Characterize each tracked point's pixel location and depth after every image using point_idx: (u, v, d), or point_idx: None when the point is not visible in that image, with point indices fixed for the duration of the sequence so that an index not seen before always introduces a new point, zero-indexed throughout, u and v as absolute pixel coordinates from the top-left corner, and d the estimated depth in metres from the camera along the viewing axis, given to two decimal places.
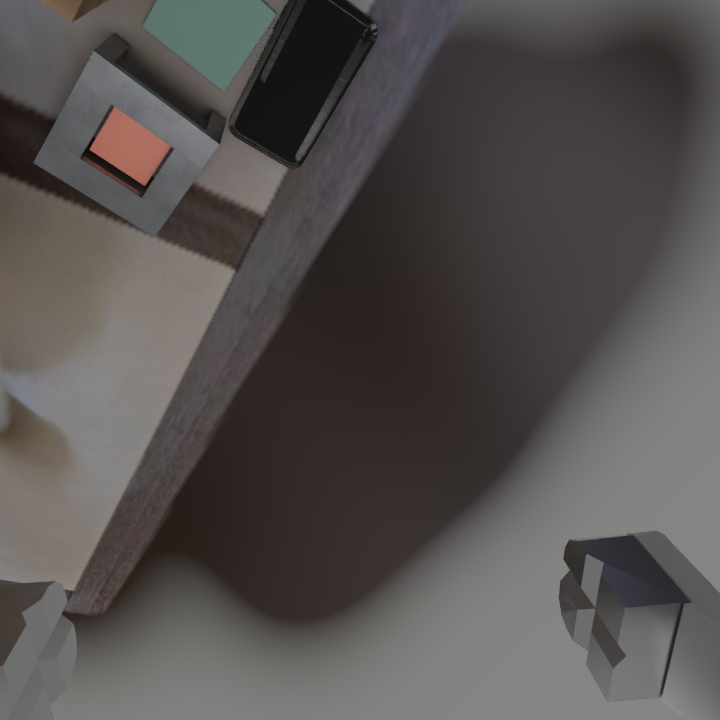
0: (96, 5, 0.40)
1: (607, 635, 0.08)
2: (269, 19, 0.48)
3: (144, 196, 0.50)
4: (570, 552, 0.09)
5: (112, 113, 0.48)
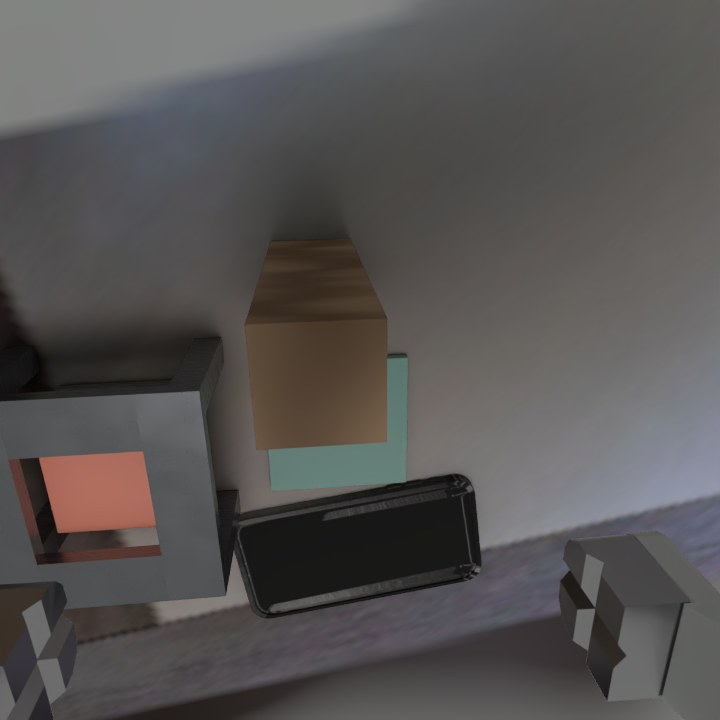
0: None
1: (607, 635, 0.08)
2: (394, 479, 0.34)
3: (44, 566, 0.26)
4: (570, 552, 0.09)
5: None
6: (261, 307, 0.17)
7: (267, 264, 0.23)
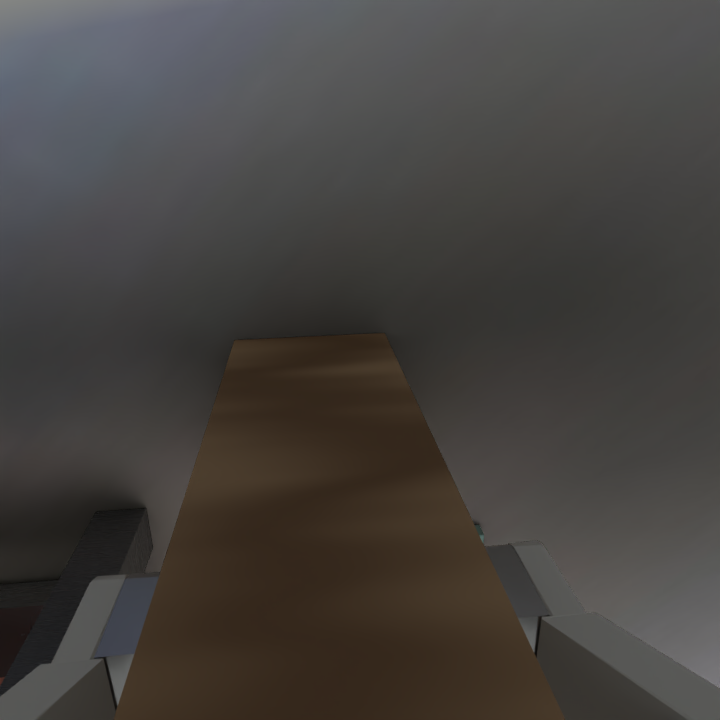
0: None
1: None
2: None
3: None
4: None
5: None
6: None
7: (208, 450, 0.10)
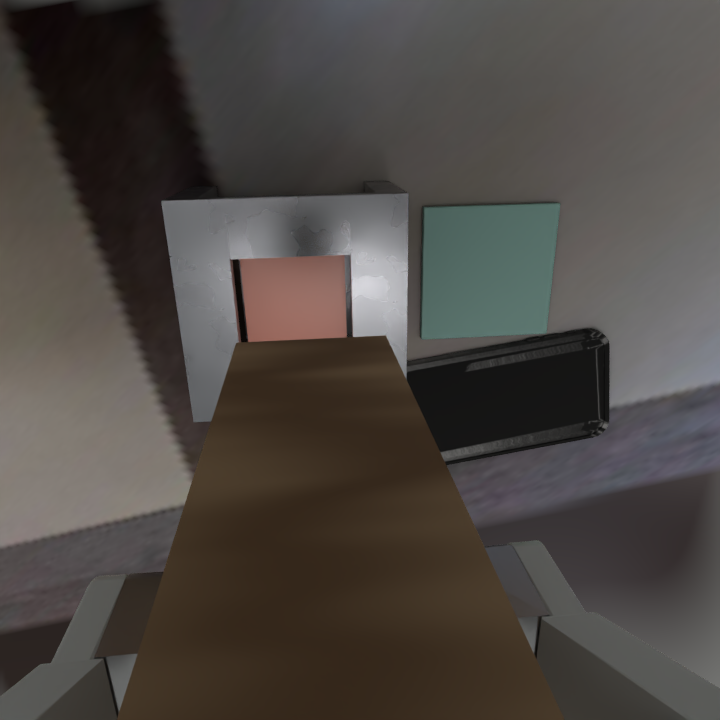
0: None
1: None
2: (535, 330, 0.36)
3: None
4: None
5: None
6: None
7: (210, 452, 0.10)
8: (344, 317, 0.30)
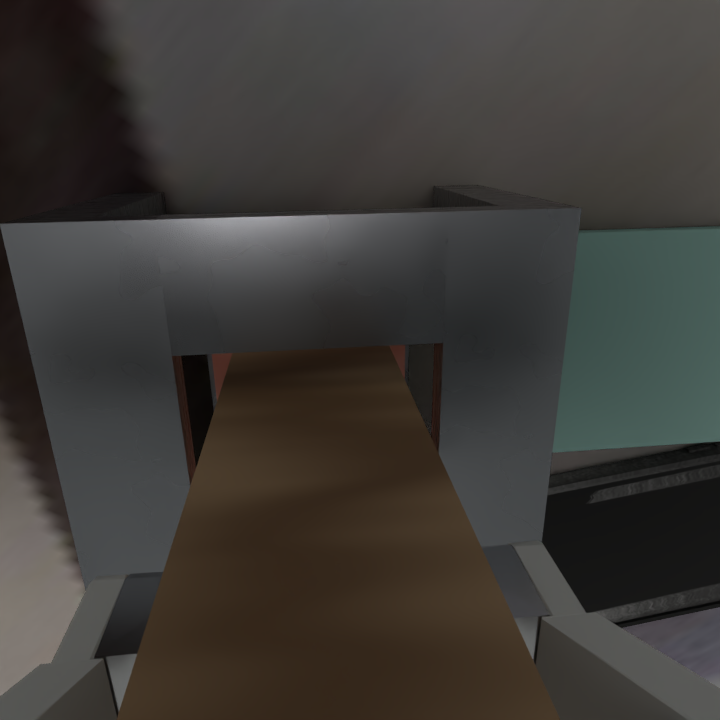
0: None
1: None
2: (707, 436, 0.21)
3: None
4: None
5: None
6: None
7: (209, 455, 0.10)
8: None
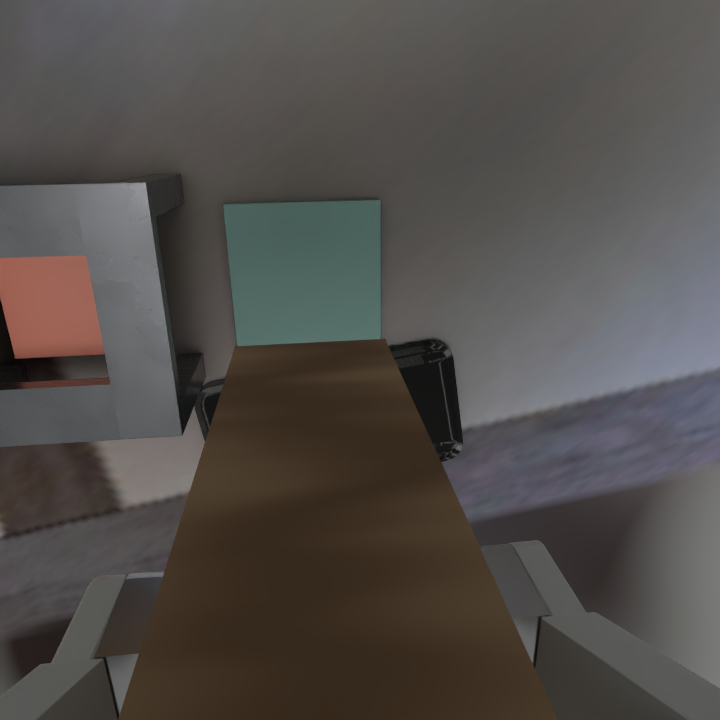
0: None
1: None
2: None
3: None
4: None
5: None
6: None
7: (209, 458, 0.10)
8: None
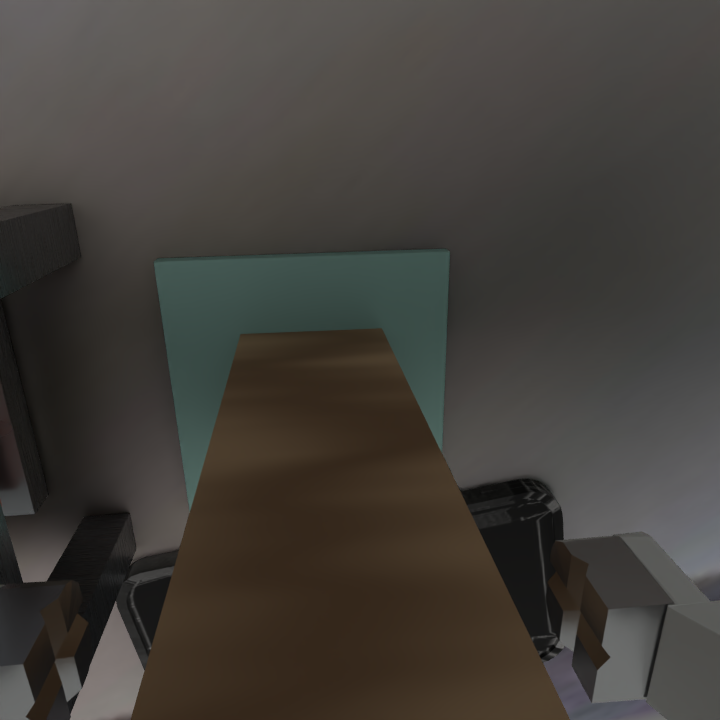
0: None
1: (592, 637, 0.08)
2: None
3: None
4: (556, 553, 0.09)
5: None
6: None
7: (221, 430, 0.11)
8: None
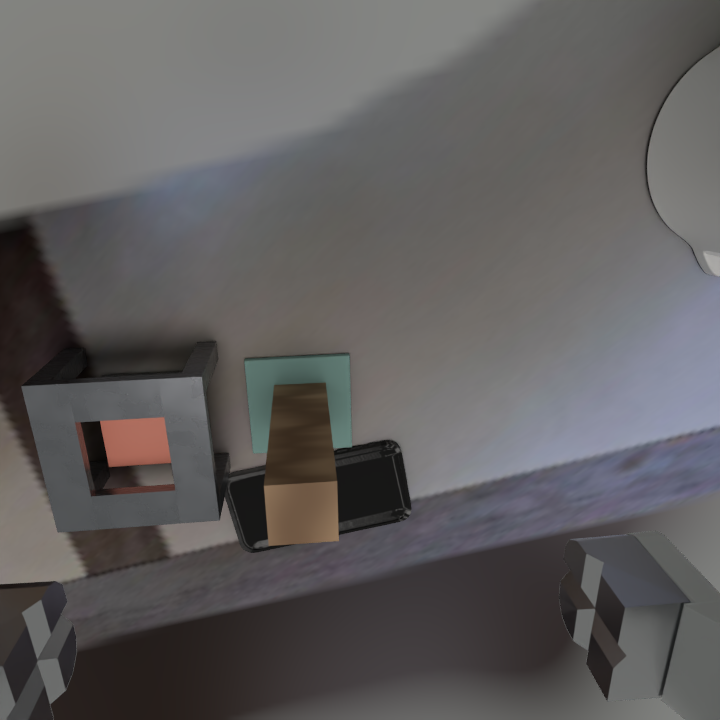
0: None
1: (607, 635, 0.08)
2: (343, 445, 0.47)
3: (95, 497, 0.39)
4: (570, 552, 0.09)
5: None
6: (271, 468, 0.33)
7: (272, 418, 0.39)
8: None
